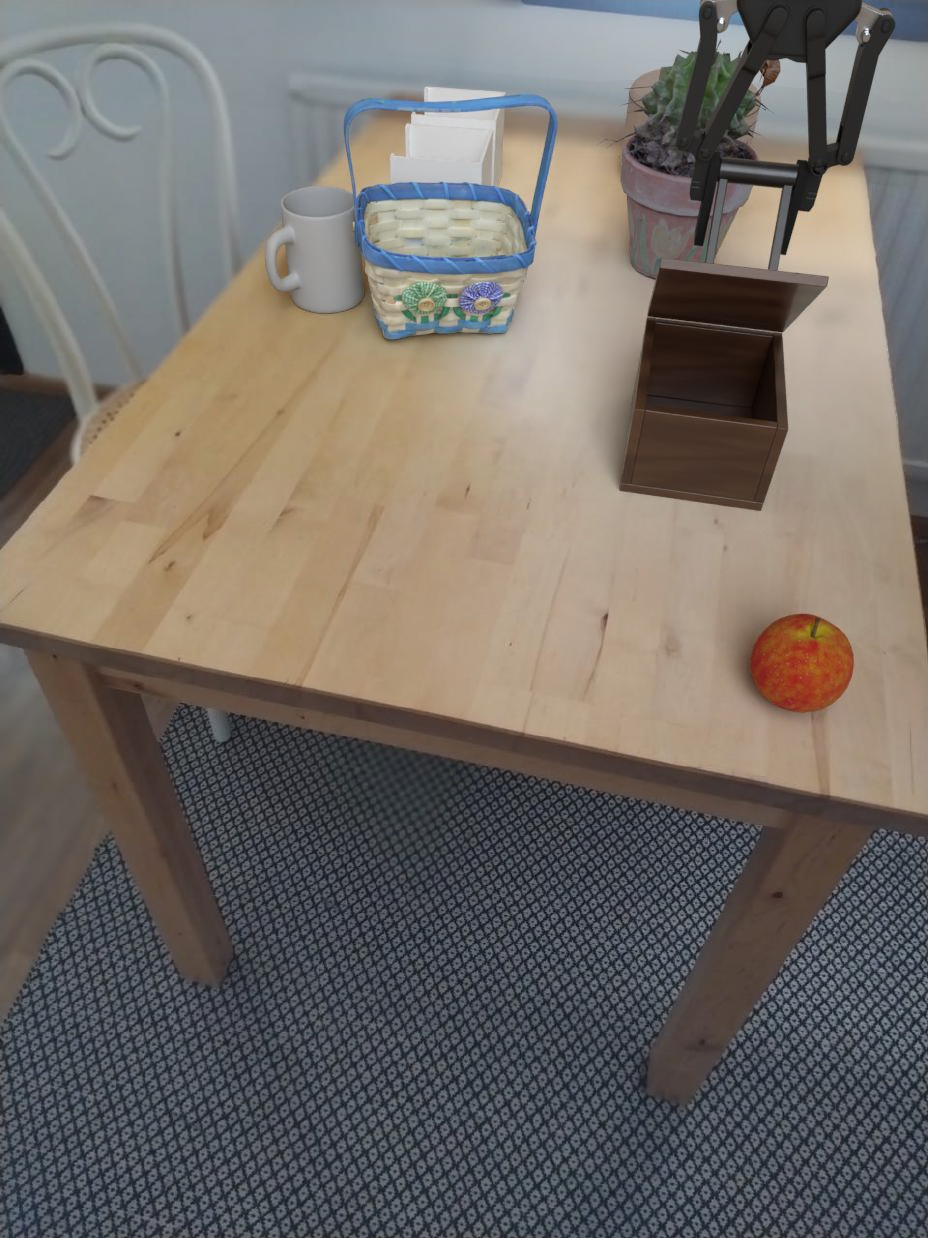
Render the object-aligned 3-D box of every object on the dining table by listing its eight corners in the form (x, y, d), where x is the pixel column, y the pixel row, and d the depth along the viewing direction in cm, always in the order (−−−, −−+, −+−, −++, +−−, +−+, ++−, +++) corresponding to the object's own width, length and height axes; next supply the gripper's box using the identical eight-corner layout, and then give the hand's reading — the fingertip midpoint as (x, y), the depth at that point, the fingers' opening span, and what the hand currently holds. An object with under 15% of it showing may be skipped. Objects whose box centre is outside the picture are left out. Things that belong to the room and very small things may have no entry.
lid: (827, 286, 71) (851, 156, 70) (659, 267, 72) (680, 139, 71) (783, 332, 87) (802, 227, 86) (646, 316, 89) (664, 213, 88)
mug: (332, 271, 112) (324, 178, 104) (379, 296, 108) (374, 201, 100) (252, 305, 106) (237, 209, 98) (298, 333, 102) (286, 235, 94)
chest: (761, 511, 83) (788, 429, 77) (619, 490, 85) (634, 408, 78) (758, 412, 94) (782, 332, 87) (632, 395, 95) (646, 316, 89)
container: (607, 189, 131) (619, 98, 122) (630, 143, 142) (642, 57, 134) (736, 207, 127) (758, 115, 119) (748, 159, 139) (768, 72, 130)
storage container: (479, 254, 116) (482, 163, 108) (393, 247, 117) (389, 156, 109) (501, 175, 133) (505, 91, 125) (426, 169, 134) (425, 86, 126)
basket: (363, 367, 98) (347, 131, 81) (352, 291, 109) (335, 69, 92) (554, 354, 101) (577, 122, 83) (524, 281, 112) (539, 63, 94)
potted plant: (565, 239, 120) (588, 15, 101) (704, 225, 123) (750, 7, 105) (614, 307, 108) (650, 69, 89) (766, 290, 111) (831, 57, 93)
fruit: (840, 738, 66) (879, 666, 60) (742, 724, 67) (771, 652, 61) (830, 665, 71) (865, 592, 65) (738, 653, 72) (764, 579, 66)
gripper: (965, -105, 62) (852, 235, 79) (679, -122, 64) (629, 212, 81) (985, -82, 57) (860, 276, 74) (674, -101, 59) (622, 250, 76)
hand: (739, 242), depth 77 cm, fingers closed on lid, 6 cm apart
